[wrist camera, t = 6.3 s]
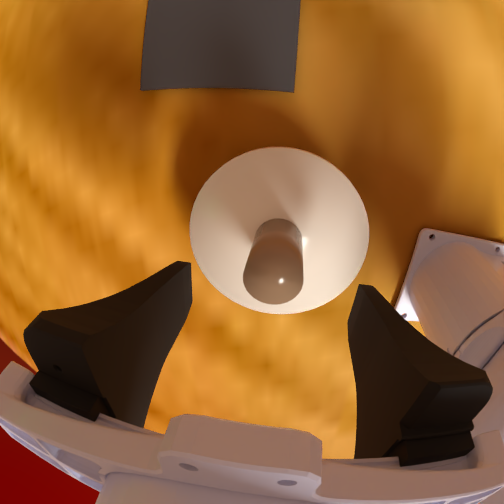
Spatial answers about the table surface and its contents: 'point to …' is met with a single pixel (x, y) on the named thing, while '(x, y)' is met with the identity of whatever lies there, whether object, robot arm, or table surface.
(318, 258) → the lid
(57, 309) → the robot arm
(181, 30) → the mat
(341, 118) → the table surface
